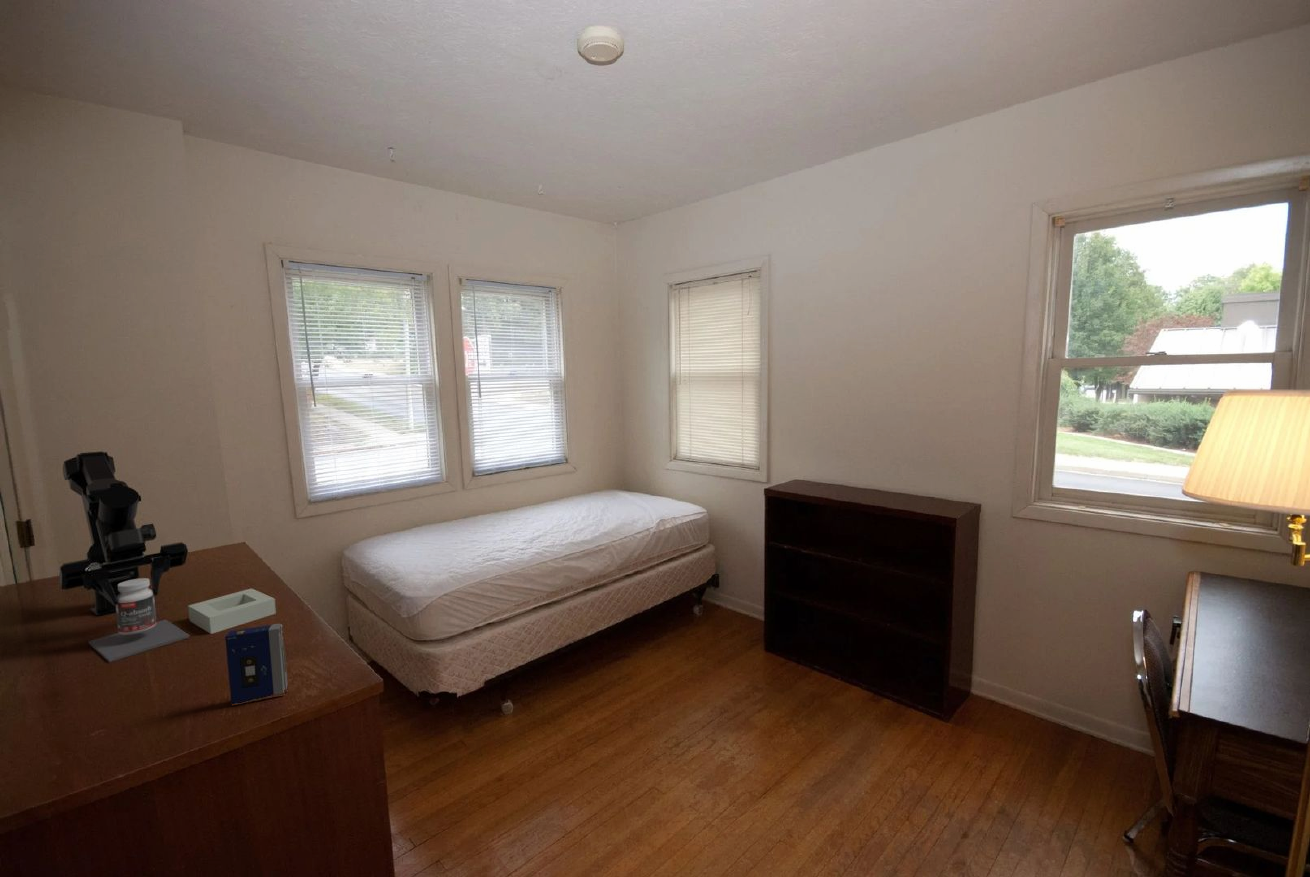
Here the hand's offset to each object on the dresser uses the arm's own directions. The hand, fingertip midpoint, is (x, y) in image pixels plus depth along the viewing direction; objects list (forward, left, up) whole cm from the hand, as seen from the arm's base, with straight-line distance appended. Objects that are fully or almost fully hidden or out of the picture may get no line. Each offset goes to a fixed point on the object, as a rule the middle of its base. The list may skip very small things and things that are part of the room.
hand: (136, 599), depth 110 cm
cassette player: (+44, +4, -9) cm, 45 cm away
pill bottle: (-1, 0, -7) cm, 7 cm away
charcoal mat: (-1, 0, -9) cm, 9 cm away
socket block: (+2, +15, -9) cm, 18 cm away
